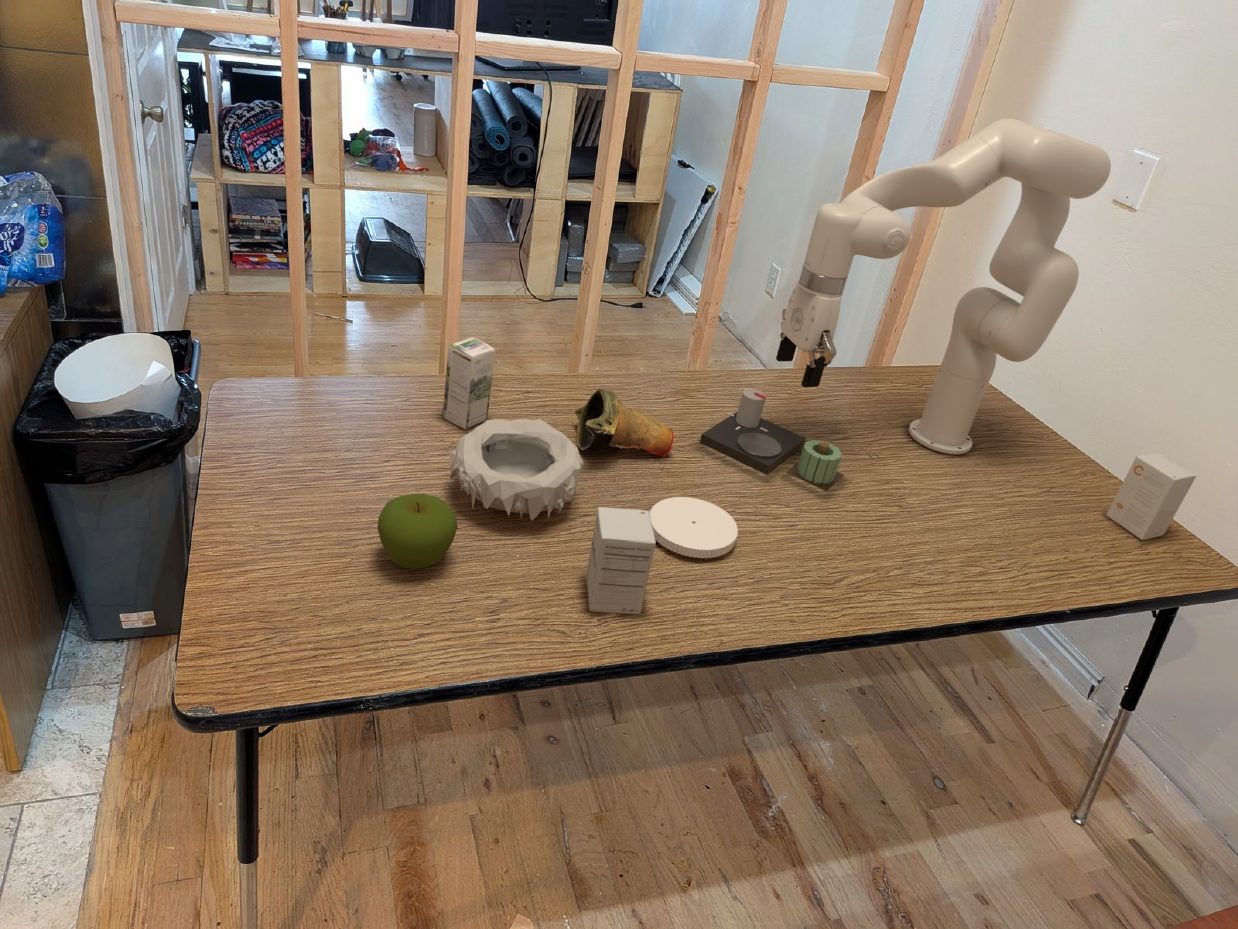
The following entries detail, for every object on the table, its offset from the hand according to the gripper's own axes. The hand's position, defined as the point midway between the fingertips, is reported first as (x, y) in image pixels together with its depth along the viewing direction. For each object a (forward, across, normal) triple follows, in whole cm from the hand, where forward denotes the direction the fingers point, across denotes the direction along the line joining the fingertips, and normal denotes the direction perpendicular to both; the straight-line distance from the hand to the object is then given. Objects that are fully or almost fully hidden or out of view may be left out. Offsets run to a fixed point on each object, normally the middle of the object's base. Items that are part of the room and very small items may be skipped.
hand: (796, 373), depth 161 cm
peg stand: (+17, +9, +4) cm, 19 cm away
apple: (+17, +24, -68) cm, 74 cm away
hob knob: (+14, -7, -3) cm, 16 cm away
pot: (+17, -4, -31) cm, 36 cm away
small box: (+17, +28, +60) cm, 69 cm away
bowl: (+17, +10, -51) cm, 55 cm away
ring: (+16, +9, +4) cm, 18 cm away
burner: (+14, +2, -5) cm, 15 cm away
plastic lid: (+17, +22, -26) cm, 38 cm away
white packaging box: (+17, +35, -43) cm, 58 cm away
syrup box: (+17, -15, -54) cm, 59 cm away
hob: (+17, -2, -4) cm, 17 cm away
